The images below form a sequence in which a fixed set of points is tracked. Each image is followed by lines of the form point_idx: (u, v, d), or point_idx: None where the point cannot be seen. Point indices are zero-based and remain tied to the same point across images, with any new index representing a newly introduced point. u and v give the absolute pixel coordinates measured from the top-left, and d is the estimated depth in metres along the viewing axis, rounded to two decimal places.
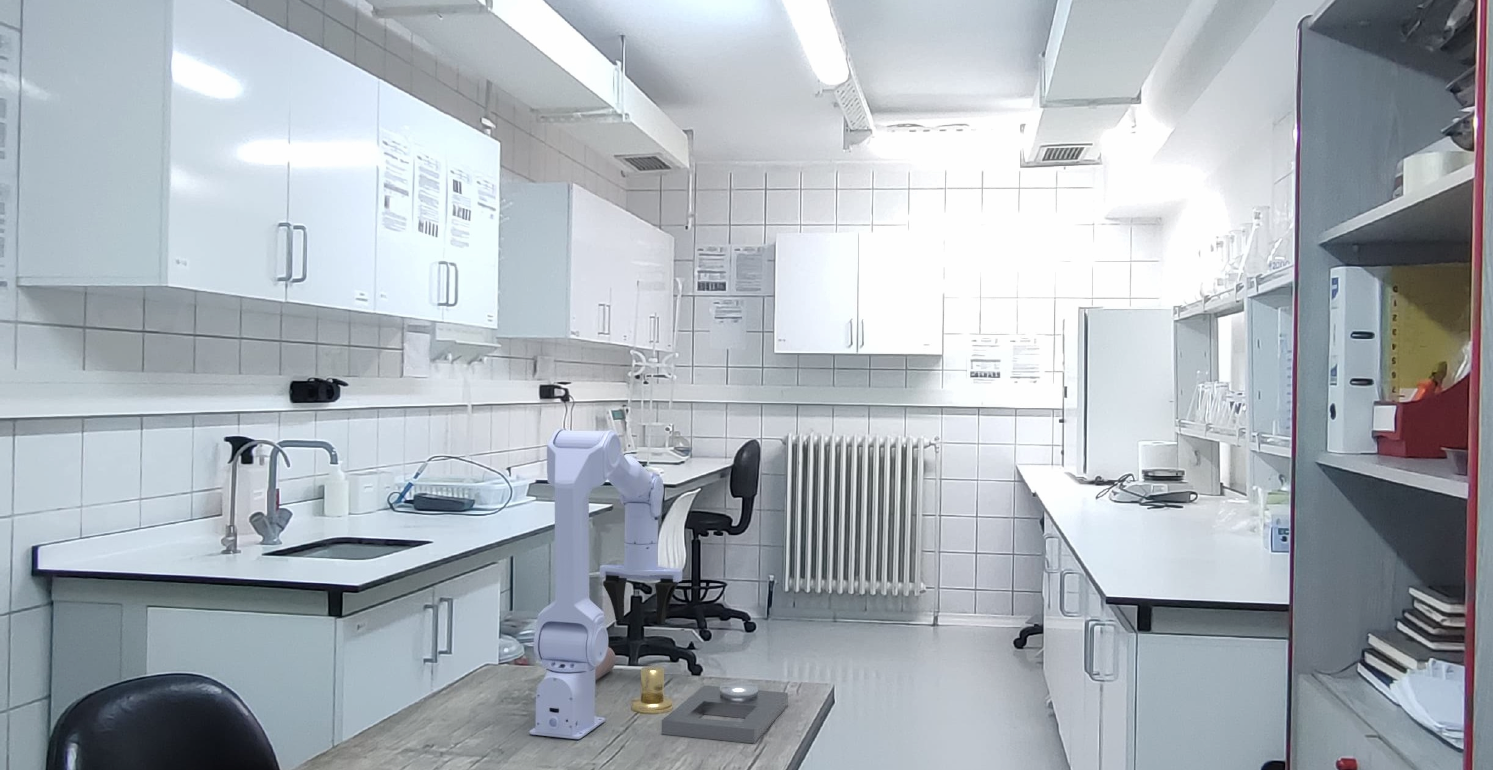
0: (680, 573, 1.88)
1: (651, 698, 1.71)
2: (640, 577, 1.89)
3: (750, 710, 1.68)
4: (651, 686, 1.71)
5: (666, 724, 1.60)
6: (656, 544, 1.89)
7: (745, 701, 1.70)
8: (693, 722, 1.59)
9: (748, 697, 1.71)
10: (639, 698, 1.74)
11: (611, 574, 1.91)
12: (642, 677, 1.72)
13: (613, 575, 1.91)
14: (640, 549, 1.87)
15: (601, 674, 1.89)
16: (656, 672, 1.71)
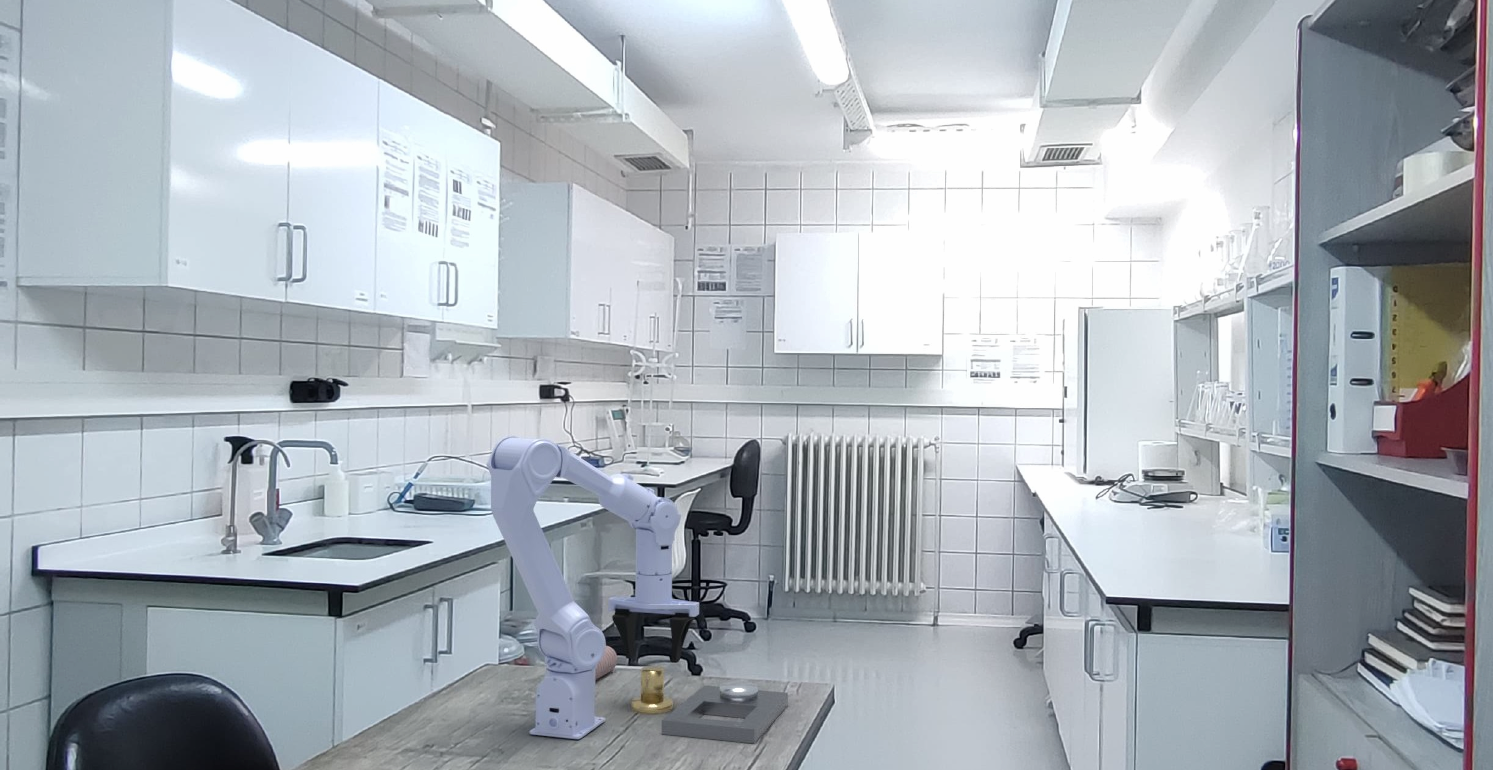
0: (697, 607, 1.71)
1: (651, 698, 1.71)
2: (653, 611, 1.73)
3: (750, 710, 1.68)
4: (651, 686, 1.71)
5: (666, 724, 1.60)
6: (670, 575, 1.72)
7: (745, 701, 1.70)
8: (693, 722, 1.59)
9: (748, 697, 1.71)
10: (639, 698, 1.74)
11: (621, 607, 1.74)
12: (642, 677, 1.72)
13: (623, 608, 1.74)
14: (653, 581, 1.70)
15: (600, 674, 1.89)
16: (656, 672, 1.71)
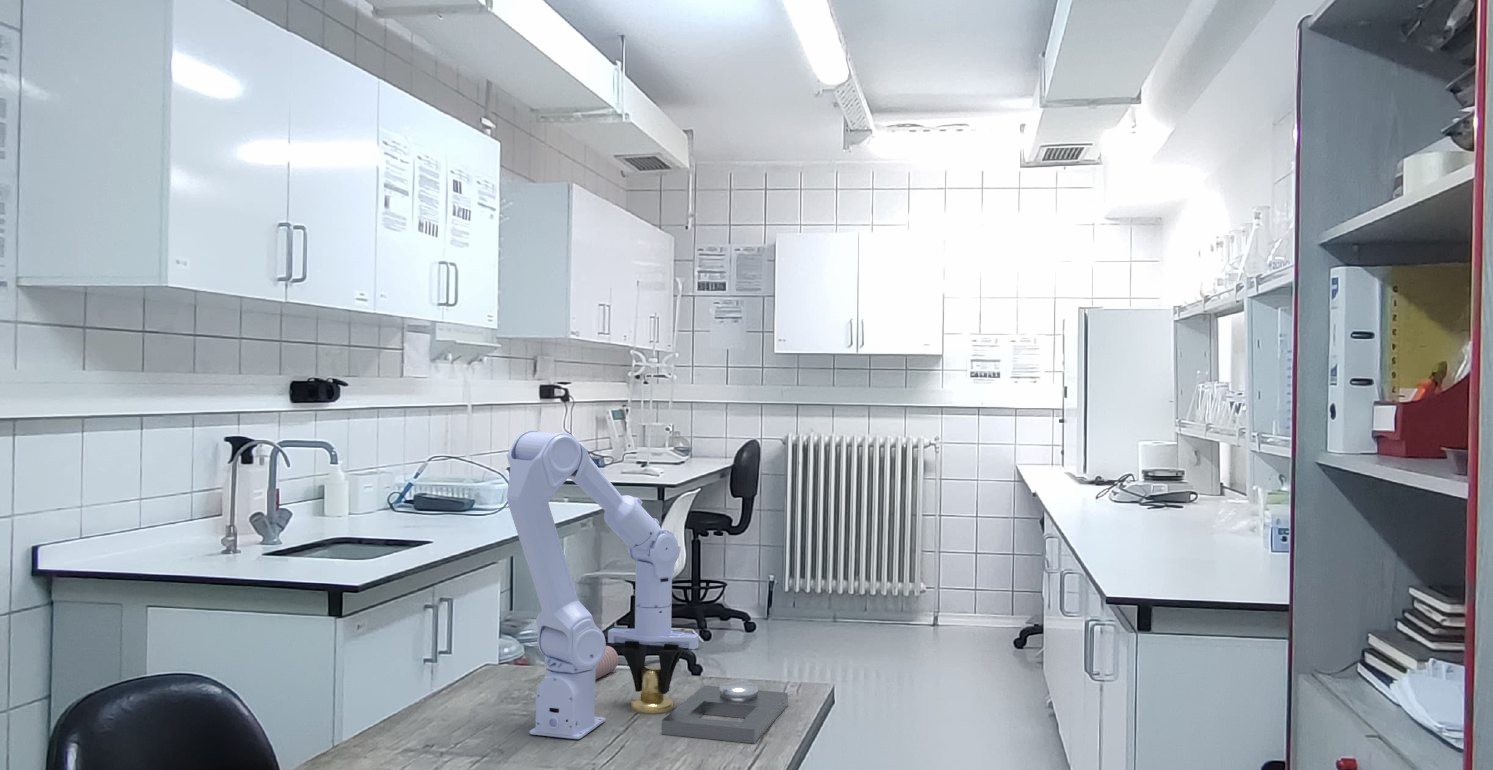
0: (696, 639, 1.71)
1: (651, 697, 1.71)
2: (652, 643, 1.73)
3: (750, 710, 1.68)
4: (651, 686, 1.71)
5: (666, 724, 1.60)
6: (670, 607, 1.72)
7: (745, 701, 1.70)
8: (693, 722, 1.59)
9: (748, 697, 1.71)
10: (639, 697, 1.74)
11: (620, 639, 1.74)
12: (642, 676, 1.72)
13: (623, 640, 1.74)
14: (652, 613, 1.70)
15: (599, 674, 1.89)
16: (656, 671, 1.71)
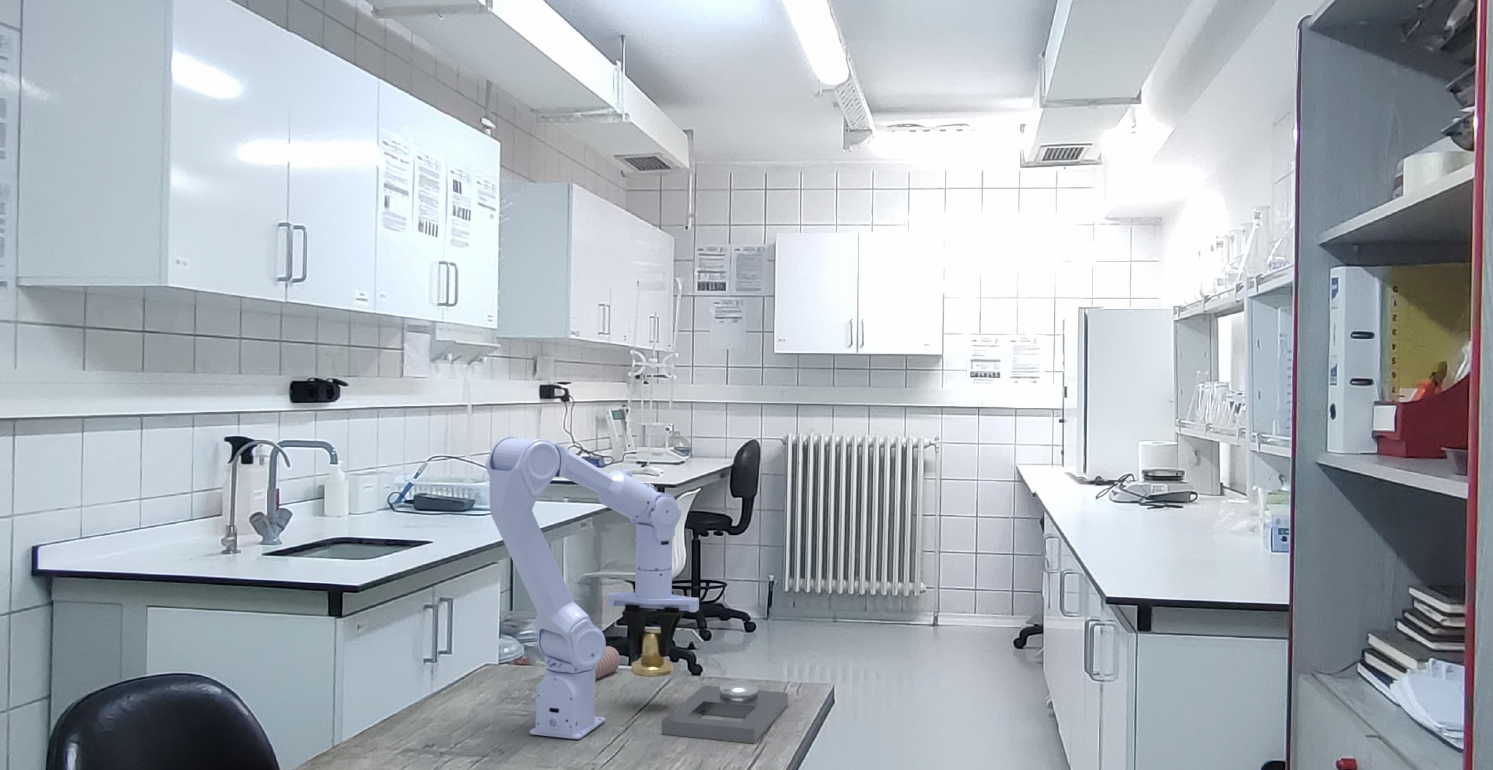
0: (696, 602, 1.71)
1: (651, 661, 1.71)
2: (652, 606, 1.73)
3: (750, 710, 1.68)
4: (651, 649, 1.71)
5: (666, 724, 1.60)
6: (670, 570, 1.72)
7: (745, 701, 1.70)
8: (693, 722, 1.59)
9: (748, 697, 1.71)
10: (639, 661, 1.74)
11: (621, 603, 1.74)
12: (642, 640, 1.72)
13: (623, 604, 1.74)
14: (653, 576, 1.70)
15: (598, 674, 1.88)
16: (656, 635, 1.71)
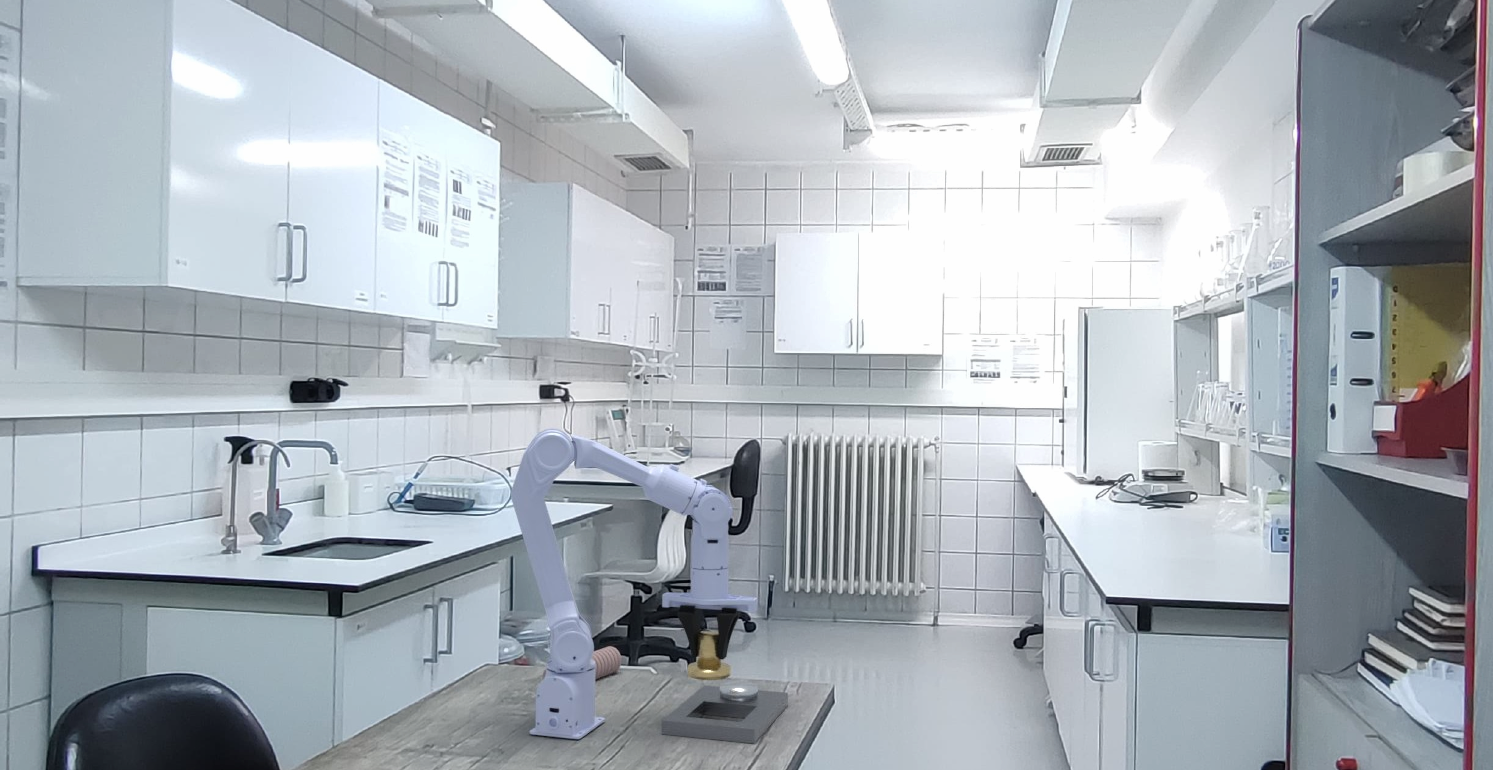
0: (755, 602, 1.64)
1: (709, 663, 1.65)
2: (709, 607, 1.66)
3: (750, 710, 1.68)
4: (709, 651, 1.65)
5: (666, 724, 1.60)
6: (727, 569, 1.66)
7: (745, 701, 1.70)
8: (693, 722, 1.59)
9: (748, 697, 1.71)
10: (695, 664, 1.68)
11: (675, 603, 1.67)
12: (699, 642, 1.65)
13: (678, 604, 1.67)
14: (710, 575, 1.64)
15: (598, 675, 1.88)
16: (714, 636, 1.65)
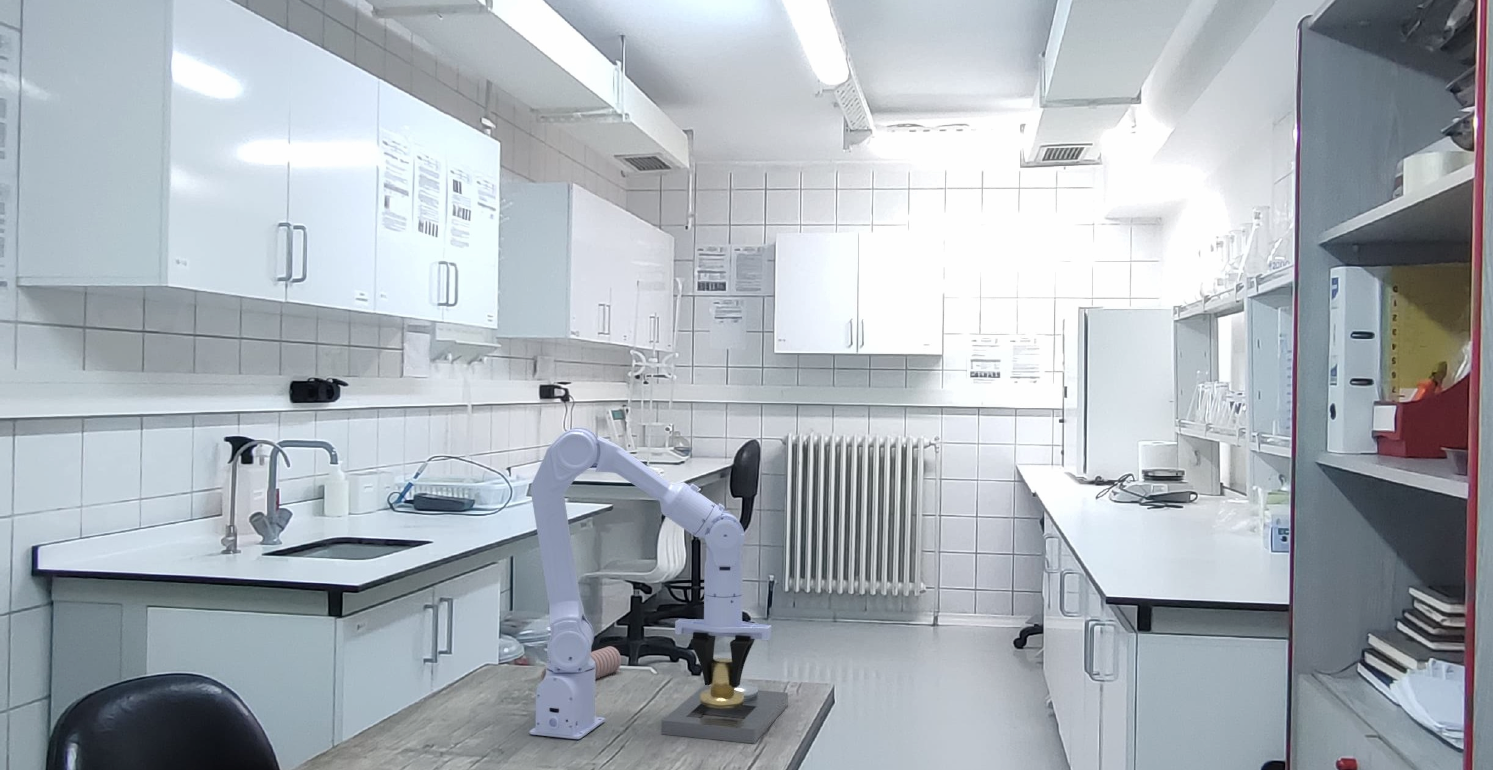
0: (769, 630, 1.63)
1: (722, 691, 1.63)
2: (722, 634, 1.64)
3: (750, 710, 1.68)
4: (723, 679, 1.63)
5: (666, 724, 1.60)
6: (741, 596, 1.64)
7: (745, 701, 1.70)
8: (693, 722, 1.59)
9: (748, 697, 1.71)
10: (708, 691, 1.66)
11: (688, 630, 1.66)
12: (712, 669, 1.64)
13: (691, 631, 1.66)
14: (723, 603, 1.62)
15: (597, 674, 1.88)
16: (728, 664, 1.63)
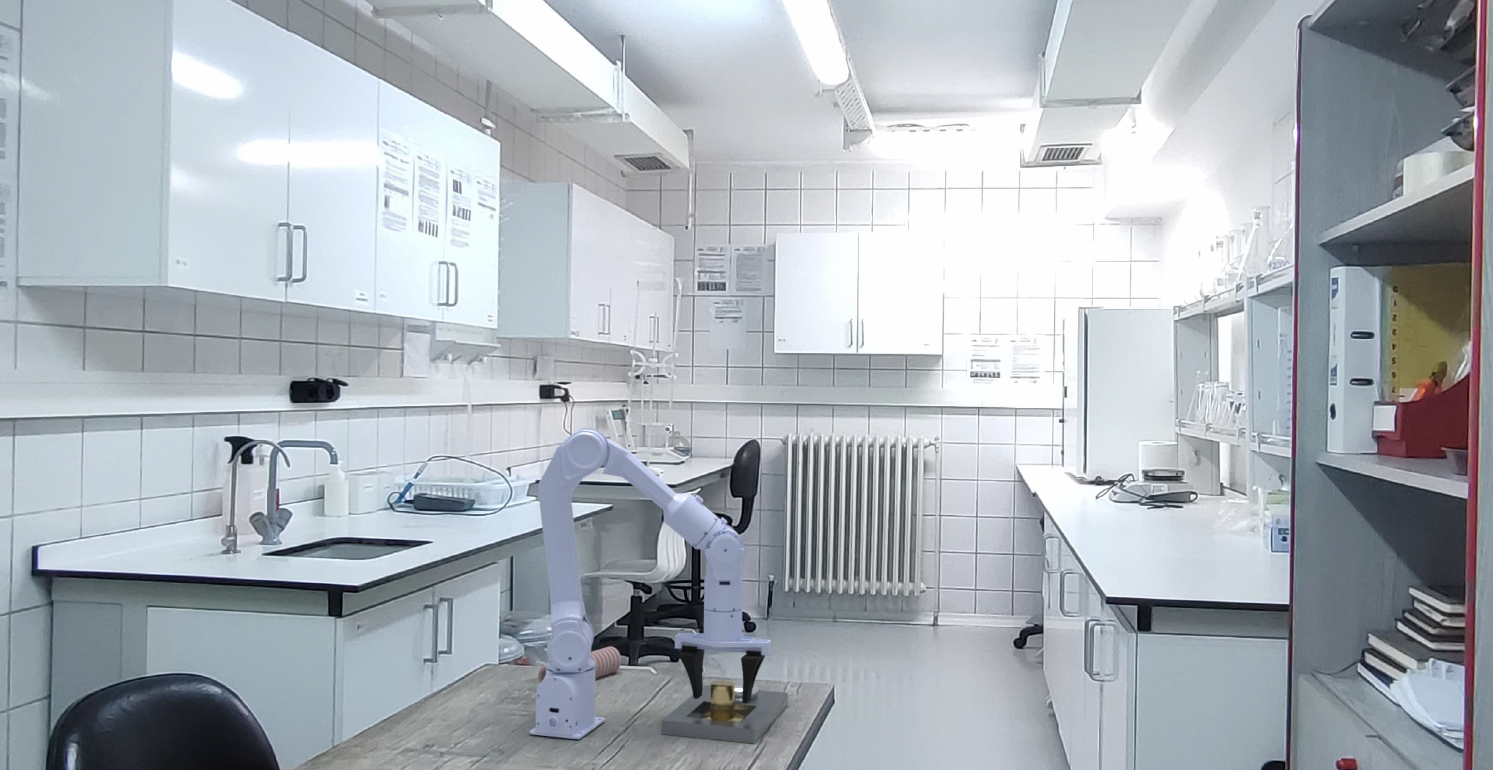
0: (769, 645, 1.63)
1: (722, 714, 1.63)
2: (722, 649, 1.64)
3: (750, 710, 1.68)
4: (722, 702, 1.63)
5: (666, 724, 1.60)
6: (741, 611, 1.64)
7: None
8: (693, 722, 1.59)
9: None
10: (708, 714, 1.66)
11: (688, 645, 1.66)
12: (712, 692, 1.64)
13: (690, 646, 1.66)
14: (723, 617, 1.62)
15: (595, 674, 1.88)
16: (727, 687, 1.63)
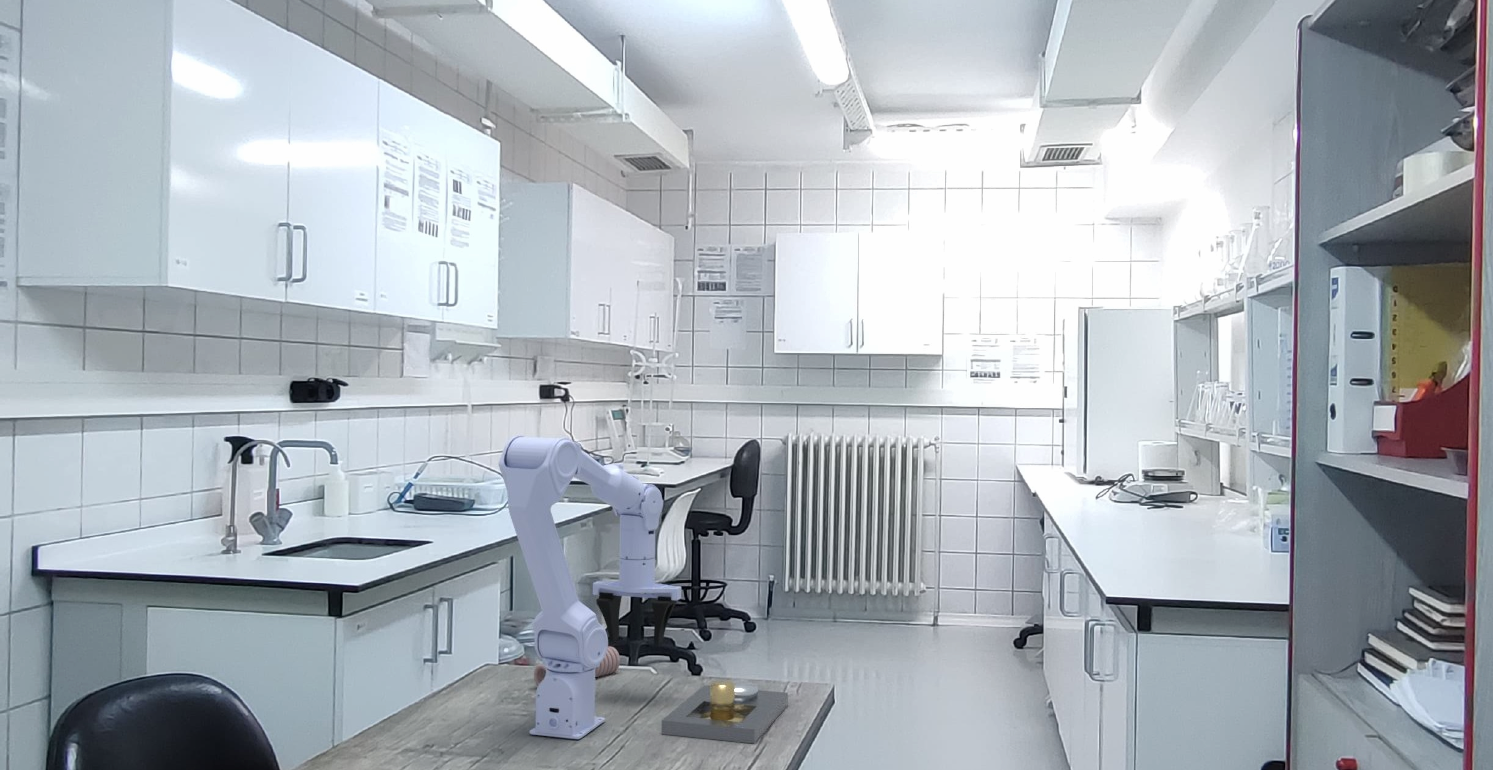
0: (679, 591, 1.75)
1: (722, 714, 1.63)
2: (636, 595, 1.77)
3: (750, 710, 1.68)
4: (722, 702, 1.63)
5: (666, 724, 1.60)
6: (653, 559, 1.76)
7: (745, 701, 1.70)
8: (693, 722, 1.59)
9: (748, 697, 1.71)
10: (708, 714, 1.66)
11: (605, 591, 1.78)
12: (712, 692, 1.64)
13: (607, 592, 1.78)
14: (636, 565, 1.74)
15: None
16: (727, 687, 1.63)
